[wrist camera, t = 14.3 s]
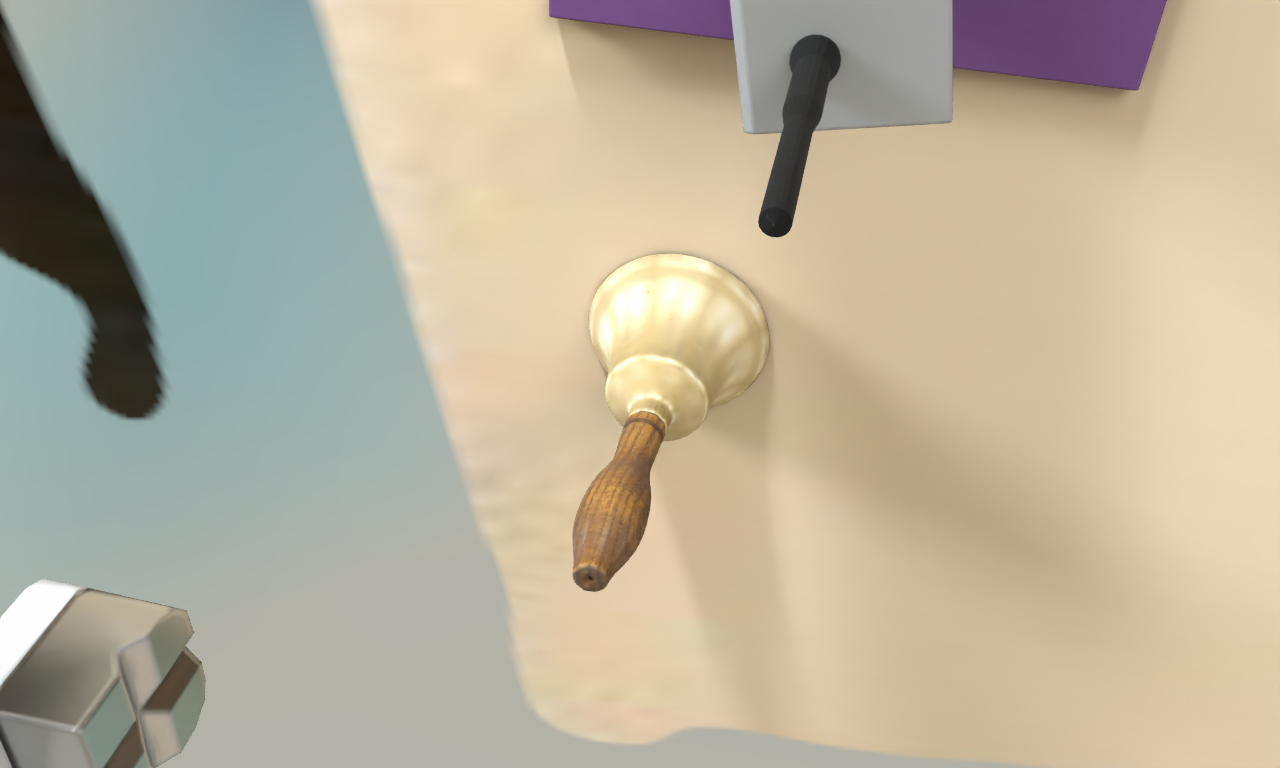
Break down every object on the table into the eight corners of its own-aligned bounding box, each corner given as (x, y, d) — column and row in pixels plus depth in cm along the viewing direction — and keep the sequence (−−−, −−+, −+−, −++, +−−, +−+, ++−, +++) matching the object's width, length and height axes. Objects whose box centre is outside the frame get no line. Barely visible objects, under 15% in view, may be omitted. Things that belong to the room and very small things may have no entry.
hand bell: (668, 433, 57) (590, 689, 45) (553, 311, 55) (435, 547, 42) (807, 353, 53) (764, 611, 40) (689, 217, 50) (604, 448, 38)
